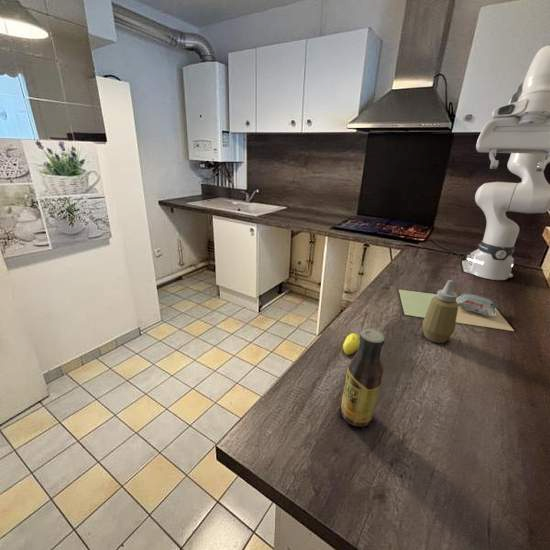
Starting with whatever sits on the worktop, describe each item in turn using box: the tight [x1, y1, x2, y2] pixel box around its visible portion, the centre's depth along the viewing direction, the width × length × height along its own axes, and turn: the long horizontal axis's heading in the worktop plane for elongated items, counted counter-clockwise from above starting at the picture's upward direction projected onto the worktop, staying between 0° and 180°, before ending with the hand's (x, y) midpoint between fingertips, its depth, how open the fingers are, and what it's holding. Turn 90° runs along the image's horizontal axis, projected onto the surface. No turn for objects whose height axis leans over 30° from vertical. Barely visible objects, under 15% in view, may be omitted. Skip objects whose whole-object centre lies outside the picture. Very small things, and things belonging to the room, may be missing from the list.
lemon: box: [342, 332, 360, 356], centre depth 77 cm, size 4×8×4 cm, turn 145°
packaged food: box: [457, 292, 499, 316], centre depth 98 cm, size 9×12×5 cm
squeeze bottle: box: [421, 279, 458, 344], centre depth 80 cm, size 8×8×18 cm
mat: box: [398, 289, 515, 332], centre depth 100 cm, size 20×31×1 cm, turn 74°
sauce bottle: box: [340, 328, 386, 428], centre depth 54 cm, size 6×6×20 cm
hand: (515, 169), depth 73 cm, fingers open, 8 cm apart
